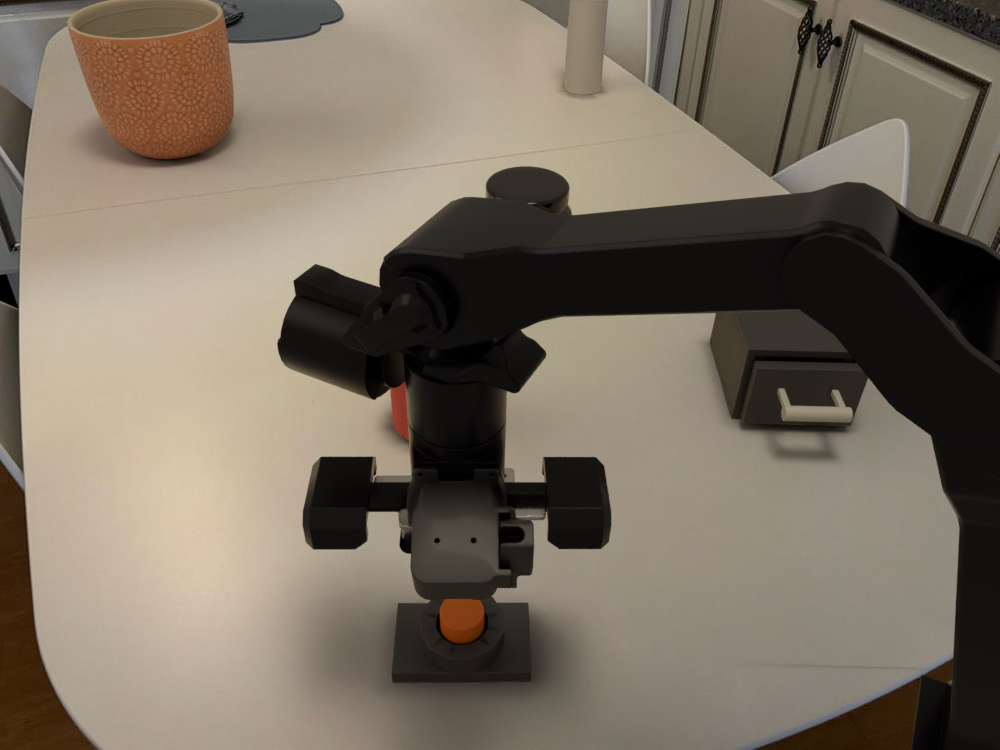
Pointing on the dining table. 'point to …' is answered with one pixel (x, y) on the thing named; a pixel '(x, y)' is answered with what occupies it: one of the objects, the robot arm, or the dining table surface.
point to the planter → (157, 73)
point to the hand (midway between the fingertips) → (460, 582)
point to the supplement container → (531, 188)
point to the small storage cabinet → (764, 346)
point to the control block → (462, 646)
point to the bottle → (585, 46)
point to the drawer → (803, 391)
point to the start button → (462, 620)
